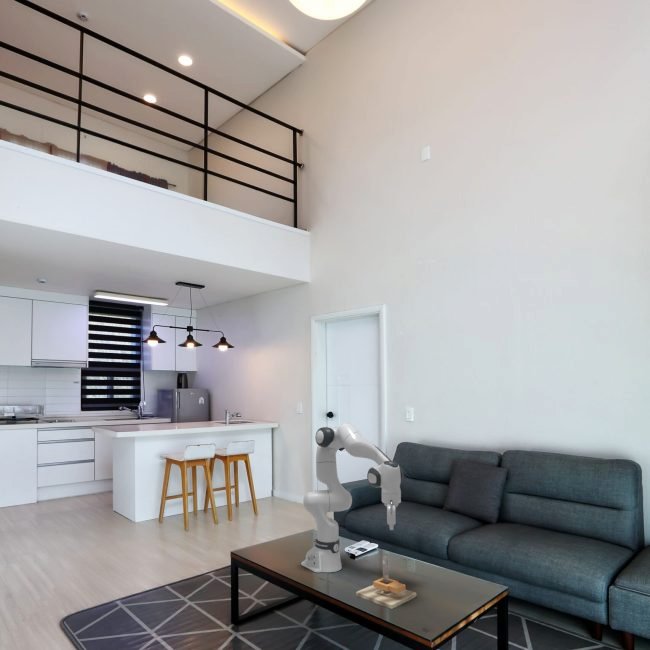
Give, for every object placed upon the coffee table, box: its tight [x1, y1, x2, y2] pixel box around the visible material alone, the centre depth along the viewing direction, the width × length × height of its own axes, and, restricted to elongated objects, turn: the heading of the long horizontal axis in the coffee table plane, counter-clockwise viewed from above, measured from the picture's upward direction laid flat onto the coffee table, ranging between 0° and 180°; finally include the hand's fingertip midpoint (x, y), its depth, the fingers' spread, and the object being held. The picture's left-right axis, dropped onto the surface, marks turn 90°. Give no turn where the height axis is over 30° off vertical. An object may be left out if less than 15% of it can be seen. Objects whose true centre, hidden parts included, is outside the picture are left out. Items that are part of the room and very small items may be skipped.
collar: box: [372, 577, 407, 594], centre depth 222 cm, size 12×8×2 cm, turn 45°
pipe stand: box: [355, 554, 417, 610], centre depth 224 cm, size 20×18×17 cm
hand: (391, 529), depth 228 cm, fingers closed
